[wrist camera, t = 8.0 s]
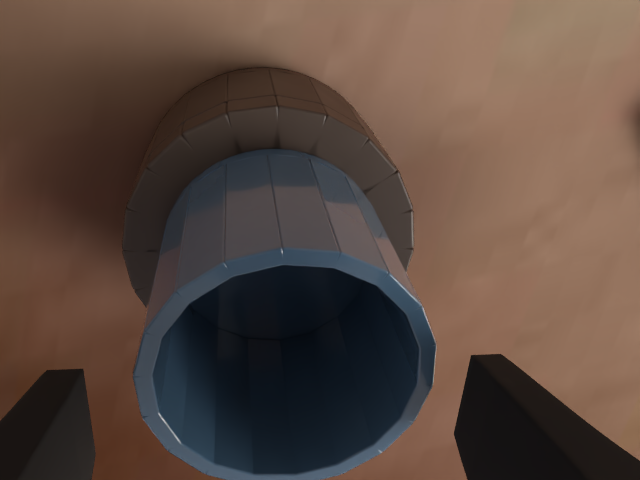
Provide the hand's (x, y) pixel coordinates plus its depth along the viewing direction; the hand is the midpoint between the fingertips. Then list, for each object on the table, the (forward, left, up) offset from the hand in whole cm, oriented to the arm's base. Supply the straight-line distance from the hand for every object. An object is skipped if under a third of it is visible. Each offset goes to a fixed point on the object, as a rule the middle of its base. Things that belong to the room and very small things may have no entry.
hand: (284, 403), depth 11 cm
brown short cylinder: (0, 0, -10) cm, 10 cm away
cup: (0, 0, -6) cm, 6 cm away
